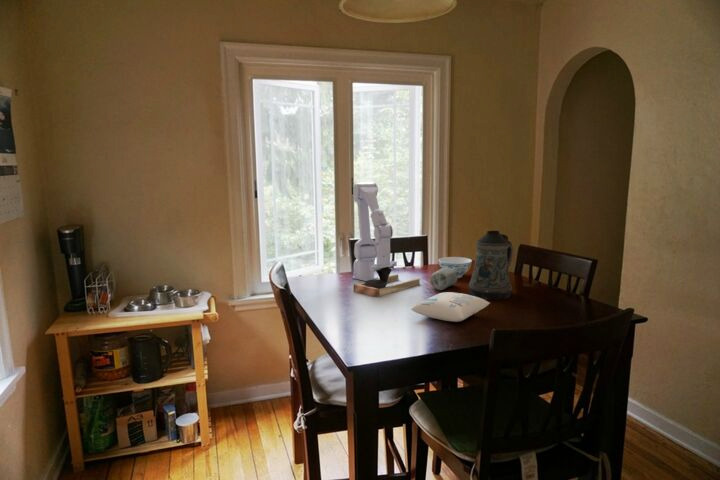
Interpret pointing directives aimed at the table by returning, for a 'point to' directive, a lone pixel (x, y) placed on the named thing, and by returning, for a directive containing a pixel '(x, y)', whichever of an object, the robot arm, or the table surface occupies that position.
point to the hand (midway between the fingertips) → (383, 285)
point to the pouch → (450, 306)
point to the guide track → (379, 292)
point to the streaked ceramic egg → (443, 278)
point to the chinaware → (456, 264)
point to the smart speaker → (375, 283)
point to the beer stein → (492, 267)
